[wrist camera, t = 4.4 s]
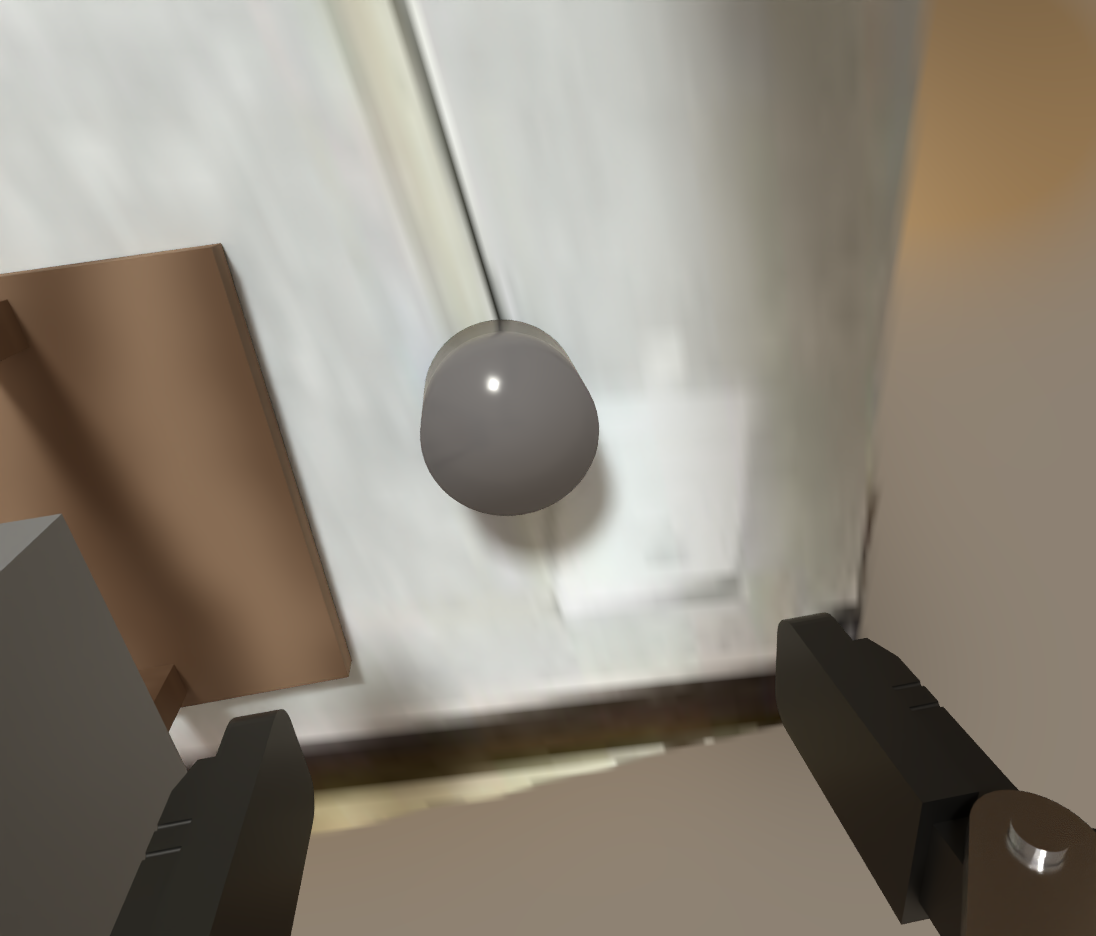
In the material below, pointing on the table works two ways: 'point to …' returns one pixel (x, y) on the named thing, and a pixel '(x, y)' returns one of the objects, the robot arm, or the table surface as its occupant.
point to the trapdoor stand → (165, 471)
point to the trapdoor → (70, 743)
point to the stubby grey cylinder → (506, 419)
